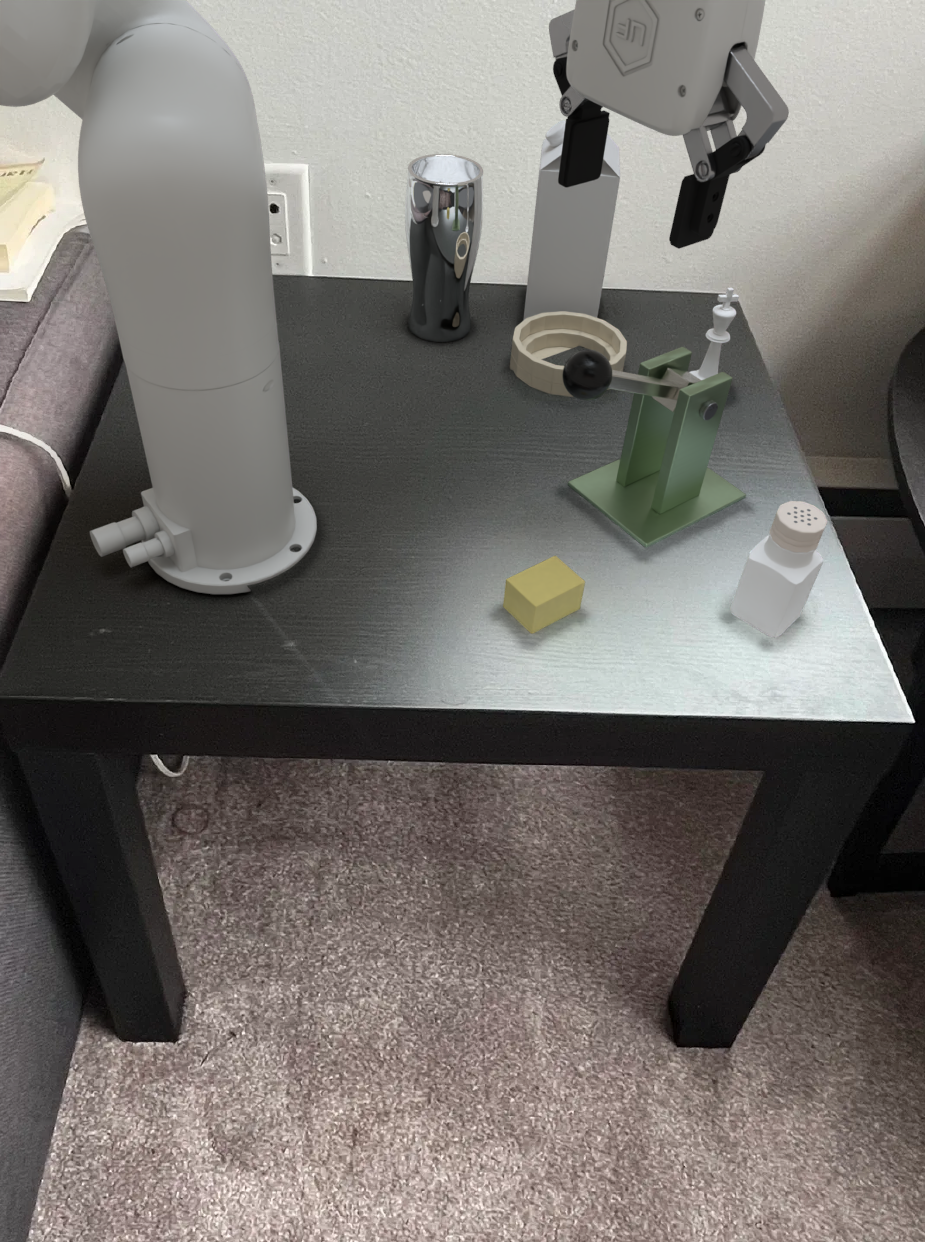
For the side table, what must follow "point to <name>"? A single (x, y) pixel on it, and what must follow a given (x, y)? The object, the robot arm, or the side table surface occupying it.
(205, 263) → the robot arm
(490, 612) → the side table surface
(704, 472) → the green lever stand
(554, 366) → the beige bottomless ring
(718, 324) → the chess piece
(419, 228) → the beer glass
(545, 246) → the milk carton
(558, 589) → the butter
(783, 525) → the pepper shaker
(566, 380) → the lever
